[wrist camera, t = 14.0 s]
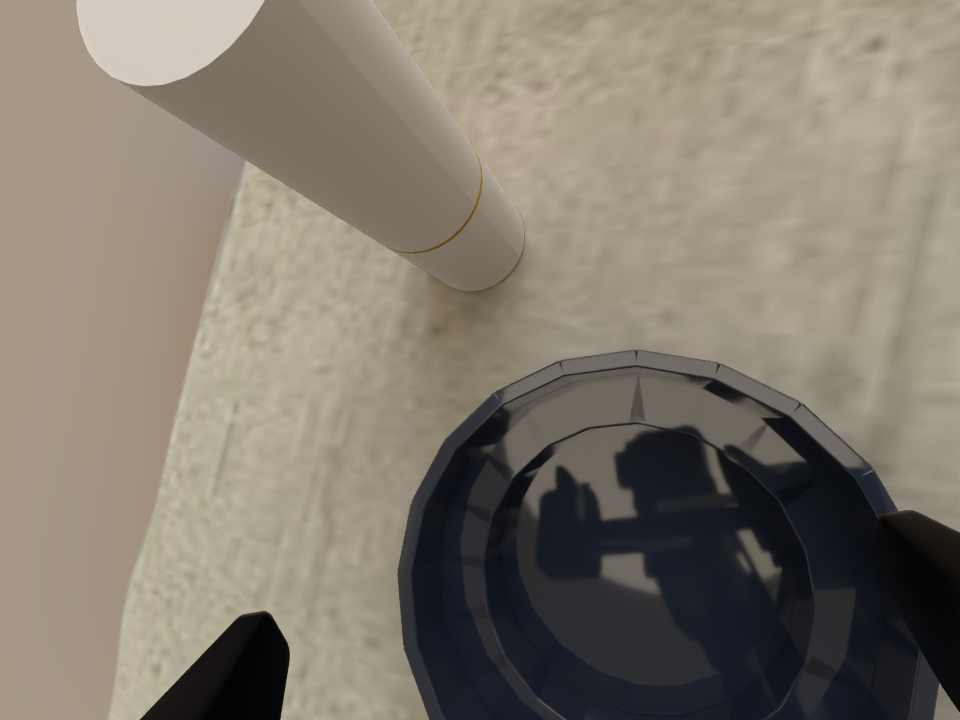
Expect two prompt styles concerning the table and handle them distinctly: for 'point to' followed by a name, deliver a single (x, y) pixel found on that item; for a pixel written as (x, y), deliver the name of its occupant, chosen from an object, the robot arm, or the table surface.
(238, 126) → the tube
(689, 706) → the bowl
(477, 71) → the table surface
